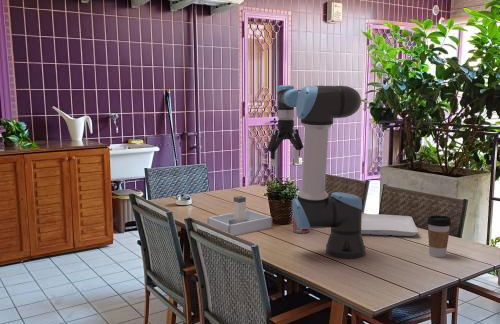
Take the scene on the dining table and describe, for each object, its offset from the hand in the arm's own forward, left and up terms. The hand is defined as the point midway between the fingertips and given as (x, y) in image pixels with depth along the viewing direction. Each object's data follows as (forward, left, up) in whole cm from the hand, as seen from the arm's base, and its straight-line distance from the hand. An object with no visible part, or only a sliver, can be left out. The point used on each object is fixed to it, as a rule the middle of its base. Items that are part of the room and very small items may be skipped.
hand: (285, 164), depth 227 cm
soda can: (-13, +2, -29) cm, 32 cm away
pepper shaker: (+9, +20, -28) cm, 36 cm away
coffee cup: (-69, -17, -29) cm, 77 cm away
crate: (+9, +20, -29) cm, 36 cm away
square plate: (-33, -31, -29) cm, 54 cm away
